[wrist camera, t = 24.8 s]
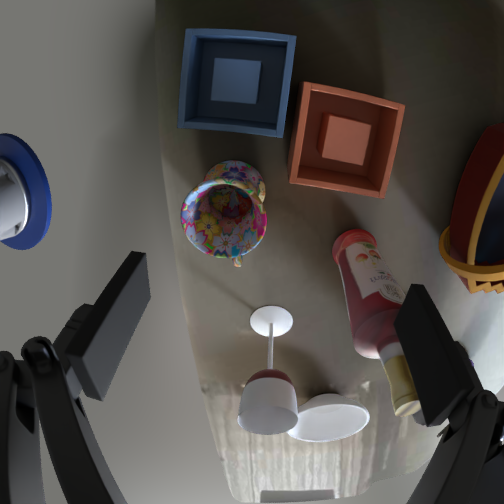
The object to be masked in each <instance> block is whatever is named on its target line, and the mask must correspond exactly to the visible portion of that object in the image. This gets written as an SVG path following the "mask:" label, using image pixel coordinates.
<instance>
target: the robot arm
mask: <svg viewBox="0 0 504 504" xmlns="http://www.w3.org/2000/svg"><path fill="white" fill-rule="evenodd" d="M31 210H32V204H31V196H30V191H29V188H28V185H27V182H26V180H25V177H24V176H23V174H22V172H21V170H20V169H19V168H18V166H17V165H16V164H15V163H14V162H13V161H11V160H10V159H8V158H6V157H2V156H0V240H3V239H6V238H10V237H13V236H16V235H17V234H19V233H20V232H21V231H22V230H24V229H25V228H26V226H27V225H28V223H29V221H30V217H31ZM150 297H151V296H150V288H149V279H148V270H147V260H146V253H141V252H134V251H131V252H130V254H129V255H128V257H127V258H126V259H125V261H124V262H123V263H122V265H121V266H120V268H119V269H118V270H117V272H116V273H115V275H114V276H113V278H112V279H111V280H110V282H109V283H108V285H107V286H106V287H105V289H104V290H103V292H102V293H101V295H100V296H99V298H98V299H97V301H96V302H95V304H94V305H89V304H83V305H82V306H80V307H79V308H78V309H76V310H75V311H74V313H73V314H72V316H71V317H70V320H68V322H67V323H66V325H65V327H64V328H63V329H62V331H61V332H60V334H59V335H58V337H57V338H56V340H55V341H54V343H53V344H51V342H50V340H49V339H47V338H46V337H42V336H38V337H34V338H31V339H29V340H28V341H27V342H26V343H25V344H24V345H23V347H22V349H21V356H22V357H23V359H24V360H15V359H14V357H13V355H12V354H11V353H10V352H8V351H0V504H46V503H45V496H44V489H43V481H42V471H41V458H40V441H39V419H40V423H41V427H42V430H43V434H44V438H45V441H46V445H47V448H48V451H49V454H50V458H51V461H52V463H53V466H54V469H55V472H56V475H57V478H58V480H59V483H60V485H61V488H62V491H63V493H64V495H65V498H66V500H67V503H68V504H127V502H126V501H125V499H124V497H123V495H122V493H121V491H120V489H119V487H118V486H117V484H116V482H115V480H114V478H113V476H112V474H111V472H110V470H109V468H108V465H107V464H106V461H105V459H104V457H103V455H102V452H101V450H100V448H99V446H98V443H97V441H96V439H95V436H94V434H93V431H92V429H91V426H90V424H89V421H88V418H87V416H86V413H85V410H84V408H83V405H82V402H81V399H80V397H79V394H80V392H81V390H82V389H83V391H84V393H85V395H86V396H87V397H90V398H93V399H96V400H99V401H103V400H104V398H105V395H106V393H107V390H108V388H109V386H110V384H111V381H112V379H113V377H114V375H115V372H116V370H117V368H118V366H119V363H120V361H121V359H122V357H123V355H124V352H125V350H126V348H127V345H128V344H129V341H130V339H131V337H132V335H133V333H134V331H135V329H136V327H137V325H138V323H139V320H140V319H141V317H142V314H143V312H144V310H145V308H146V306H147V304H148V302H149V300H150ZM393 325H394V328H395V331H396V333H397V336H398V339H399V341H400V344H401V347H402V350H403V353H404V356H405V358H406V361H407V364H408V367H409V370H410V373H411V376H412V379H413V382H414V386H415V389H416V392H417V395H418V399H419V402H420V405H421V409H422V412H423V416H424V419H425V423H426V426H427V427H431V426H437V425H441V424H442V423H443V422H444V421H445V420H446V419H447V418H448V420H449V424H448V425H447V426H446V427H445V428H444V429H443V430H442V431H441V432H440V433H439V434H438V435H437V437H440V436H441V435H442V434H443V435H442V437H441V440H440V442H439V444H438V446H437V448H436V450H435V452H434V454H433V457H432V459H431V461H430V463H429V465H428V466H427V469H426V470H425V472H424V474H423V476H422V478H421V480H420V482H419V483H418V485H417V487H416V489H415V490H414V492H413V494H412V495H411V497H410V499H409V500H408V502H407V504H504V444H503V445H502V440H503V439H504V402H501V401H498V399H497V397H496V396H495V394H493V393H492V392H491V391H489V390H484V389H483V387H482V384H481V382H480V380H479V378H478V375H477V373H476V371H475V369H474V367H473V366H472V363H471V361H470V359H469V356H468V354H467V352H466V350H465V349H464V347H463V346H462V345H461V344H460V343H459V342H458V341H454V340H453V338H452V336H451V334H450V332H449V330H448V328H447V327H446V325H445V323H444V321H443V319H442V317H441V315H440V313H439V312H438V310H437V308H436V306H435V304H434V302H433V301H432V299H431V297H430V295H429V294H428V292H427V290H426V288H425V287H424V285H420V284H411V286H410V288H409V290H408V293H407V295H406V297H405V299H404V302H403V304H402V306H401V308H400V310H399V312H398V315H397V317H396V319H395V321H394V323H393Z"/></svg>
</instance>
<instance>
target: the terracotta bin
mask: <svg viewBox="0 0 504 504" xmlns="http://www.w3.org/2000/svg"><path fill="white" fill-rule="evenodd" d="M404 110H405V105H403V104H400V103H396V102H393V101H390V100H386V99H382V98H379V97H375V96H371V95H367V94H363V93H359V92H355V91H351V90H346V89H342V88H337V87H332V86H328V85H322V84H317V83H311V82H306V81H304V82H299V86H298V93H297V101H296V108H295V115H294V122H293V129H292V135H291V142H290V149H289V156H288V162H287V172H288V179H289V183H294V184H301V185H308V186H314V187H320V188H326V189H332V190H338V191H344V192H350V193H355V194H361V195H366V196H371V197H376V198H381V199H384V197H385V193H386V189H387V186H388V182H389V178H390V174H391V170H392V166H393V162H394V157H395V153H396V149H397V144H398V140H399V135H400V130H401V125H402V120H403V115H404ZM323 112H328V113H333V114H337V115H342V116H346V117H350V118H355V119H359V120H362V121H364V122H366V123H368V124H370V125H371V130H370V135H369V139H368V144H367V148H366V153H365V157H364V162H363V165H358V164H353V163H348V162H343V161H338V160H333V159H328V158H323V157H321V155H320V154H319V152H318V150H317V149H316V146H317V141H318V135H319V130H320V124H321V119H322V113H323Z"/></svg>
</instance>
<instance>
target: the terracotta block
mask: <svg viewBox="0 0 504 504" xmlns="http://www.w3.org/2000/svg"><path fill="white" fill-rule="evenodd" d="M370 130H371V125H370V124H368V123H366V122H364V121H362V120H359V119H355V118H350V117H346V116H342V115H337V114H333V113H328V112H323V113H322V119H321V124H320V130H319V135H318V141H317V146H316V149H317V150H318V152H319V154H320V155H321V157H323V158H328V159H333V160H338V161H343V162H348V163H353V164H358V165H363V162H364V157H365V153H366V148H367V144H368V139H369V135H370Z"/></svg>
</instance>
